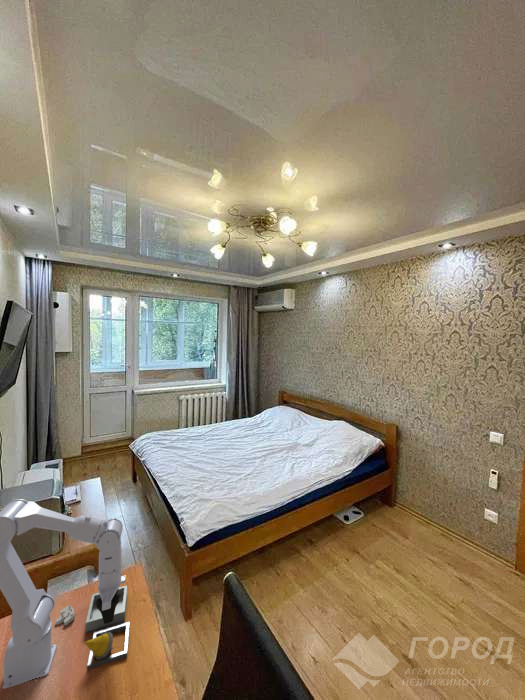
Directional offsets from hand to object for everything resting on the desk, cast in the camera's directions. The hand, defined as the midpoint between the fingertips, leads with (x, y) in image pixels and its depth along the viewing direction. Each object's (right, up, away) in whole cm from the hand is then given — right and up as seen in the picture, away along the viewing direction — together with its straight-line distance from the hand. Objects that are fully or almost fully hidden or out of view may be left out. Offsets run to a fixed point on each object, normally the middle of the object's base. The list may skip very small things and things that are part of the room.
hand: (110, 613), depth 83 cm
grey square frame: (0, -10, 0) cm, 10 cm away
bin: (-6, -10, +11) cm, 16 cm away
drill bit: (+1, -10, 0) cm, 10 cm away
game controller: (-19, -12, +7) cm, 23 cm away
